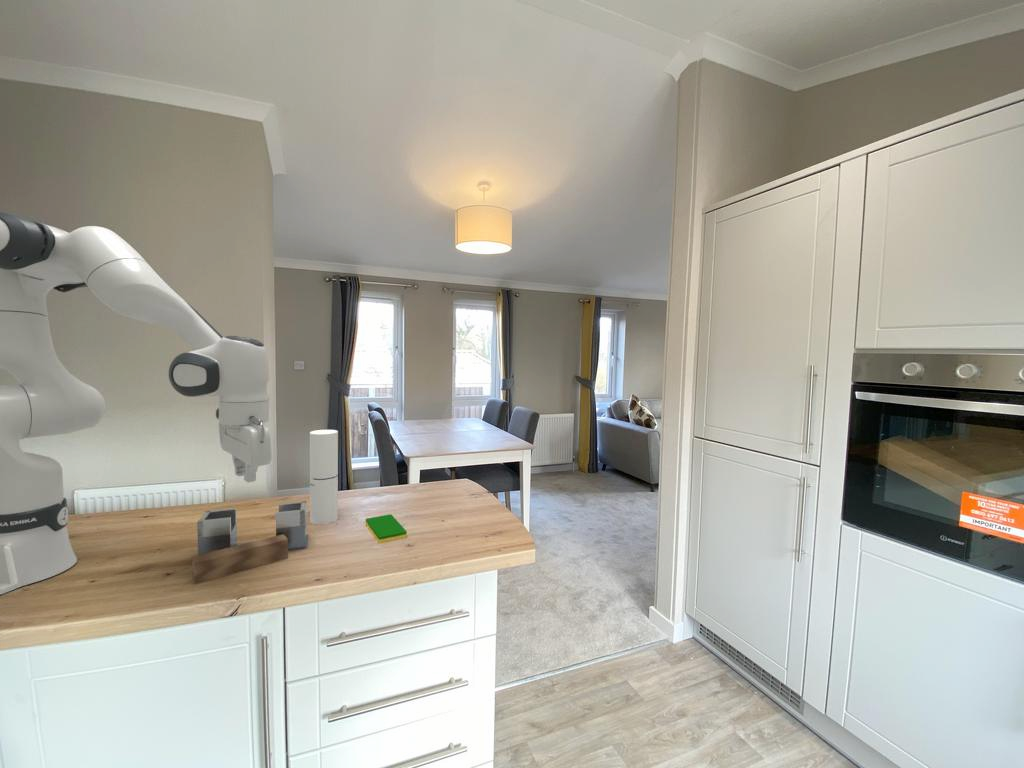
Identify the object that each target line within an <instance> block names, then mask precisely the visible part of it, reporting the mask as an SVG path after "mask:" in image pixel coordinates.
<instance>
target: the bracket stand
mask: <svg viewBox="0 0 1024 768" xmlns="http://www.w3.org/2000/svg"><path fill="white" fill-rule="evenodd" d="M196 523H197V524H196V525H197V526H196V527H197V555H201V554H205V553H209V552H213V551H217V550H221V549H225V548H229V547H233V546H237V545H241V544H246V543H250V542H251V541H245V542H239V543H238V536H237V535H238V530H237V529H238V527H237V526H238V525H237V523H238V522H237V507H233V508H224V509H215V510H214V509H213V510H206V511H204V512H203V514H202V516H201V517H200V518H199V520H198V521H197V522H196ZM282 534H284V535H285V536H286V538H287V539H288V552H290V551H297V550H298V551H299V550H302V549H303V550H305V549H308V545H309V538H310V536H309V535H310V534H308V533H307V500H304V501H295V502H284V503H279V504H278V511H277V512H275V536H278V535H282ZM254 541H255V540H254ZM254 541H252V542H254Z"/></svg>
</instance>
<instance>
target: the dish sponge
mask: <svg viewBox="0 0 1024 768" xmlns="http://www.w3.org/2000/svg"><path fill="white" fill-rule="evenodd" d="M365 527H367V529H368V530H369V531H370V533H371V535H373V537H374V538H375V541H377V543H378V544H382V543H388V542H392V541H397V540H401V539H405V538H407V537H408V535H407V533H408V531H407V530H406V528H404V527H403V525H401V524H400V522H399V521H398V520H397V519H396V518H395V516H393V515H392V514H391V513H389V514H386V515H385V514H384V515H379V516H373V517H368V518H365Z"/></svg>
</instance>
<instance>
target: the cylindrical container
mask: <svg viewBox="0 0 1024 768" xmlns="http://www.w3.org/2000/svg"><path fill="white" fill-rule="evenodd" d="M338 519H339V431H338V430H337V429H319V430H318V429H317V430H312V431H310V432H309V522H310V524H312V525H326V524H331V523H334V522H336V521H337V520H338Z"/></svg>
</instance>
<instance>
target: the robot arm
mask: <svg viewBox="0 0 1024 768" xmlns="http://www.w3.org/2000/svg"><path fill="white" fill-rule="evenodd" d="M87 287H88V288H89V290H90V291H91V292H92V293H93V294H94V295H95V296H96V298H97V299H98V300H99V301H100V302H101V303H103V304H104V306H106V307H108V308H109V309H111V311H113V312H115V313H116V314H118V315H121V316H122V317H126V318H129V319H133V320H138V321H141V322H144V323H149V324H152V325H154V326H158V327H161V328H164V329H167V331H170V332H172V333H174V334H176V335H177V336H178V337H180V338H181V339H182V340H183V341H184V342H185V343H186V344H188V346H189V347H191V348H192V351H187V352H182V353H180V354H178V355H176V356H175V357H174V359H173V360H172V361H171V362H170V364H169V368H168V380H169V382H170V385H171V387H172V388H173V389H174V390H175V391H176V392H177V393H178V394H180V395H182V396H183V397H184V396H185V397H189V398H205V397H215V396H218V399H219V401H218V402H219V403H218V405H219V406H218V407H217V408H216V409H215V418H216V419H217V420H218V431H219V432H218V434H219V443H220V447H221V449H222V451H225V452H226V453H227V454H230V455H231V457H232V458H231V459H232V463H233V467H234V474H235V476H238V477H243V480H244V481H245V482H246V483H253V482H255V481H256V480H257V471H258V468H259V467H261V466H262V467H263V466H266V465H270V464H271V461H272V458H273V457H272V456H273V455H272V442H271V441H272V440H271V432H270V430H269V428H268V427H267V426H265V425H264V423H268V422H270V406H269V405H270V402H269V401H270V399H269V398H270V397H269V395H268V391H267V389H268V388H267V387H268V383H269V379H270V376H269V375H270V373H269V371H270V370H269V369H270V368H269V359H268V356H269V355H268V352H267V349H266V346H265V345H264V343H263V342H261V341H259V340H257V339H254V338H252V337H251V338H250V337H245V336H238V335H226V336H222V334H221V333H220V332H219V331H217V330H216V329H215V328H214V326H212V324H211V323H210V322H209V321H207V320H206V318H204V316H202V314H201V313H199V311H197V310H196V309H195V308H194V307H193V306H192V305H190V303H188V302H187V301H186V300H185V299H183V297H181V296H180V295H179V294H178V293H177V292H176V291H175V290H173V288H171V286H170V285H168V283H166V282H165V281H164V280H163V278H162V277H160V275H159V274H158V273H157V272H156V271H155V270H154V269H153V268H152V267H151V265H150V264H149V263H148V262H147V261H146V259H144V257H143V256H142V255H141V254H140V253H139V252H138V251H137V250H136V249H135V248H134V247H132V245H130V244H129V243H128V242H127V241H126V240H125V239H123V238H122V237H121V236H120V235H118V234H117V233H116V232H115V231H112V230H111V229H109V228H107V227H102V226H96V225H89V226H88V225H86V226H81V227H79V228H76V229H74V230H72V231H71V232H68V231H65V230H63V229H61V228H58V227H56V226H52V225H48V224H45V223H41V222H38V221H37V220H34V219H31V218H29V217H27V216H23V215H20V214H16V213H11V212H5V211H0V370H4V371H6V372H8V373H9V374H11V375H12V376H13V377H14V378H15V380H16V381H17V383H16V384H7V385H6V384H0V595H4V594H6V593H8V592H11V591H13V590H14V591H15V590H16V589H19V588H20V587H24V586H27V585H30V584H33V583H37V582H41V581H43V580H46V579H49V578H52V577H54V576H56V575H59V574H61V573H64V572H65V571H67V570H68V569H70V568H72V567H73V566H74V565H75V564H76V563H77V562H78V557H77V556H76V554H75V552H74V549H73V546H72V545H71V541H70V538H69V537H70V536H69V533H68V527H67V525H68V521H69V520H68V519H69V510H68V503H67V501H68V500H67V498H66V497H65V496H64V476H63V467H62V465H61V464H60V462H58V460H56V459H55V458H52V457H50V456H45V455H41V454H39V453H38V454H37V453H34V452H33V453H32V452H27V451H23V450H22V448H21V446H20V445H21V444H20V440H24V439H29V438H39V437H47V436H48V437H49V436H57V435H65V434H67V435H68V434H71V433H75V432H80V431H82V430H86V429H89V428H93V427H96V426H97V425H98V424H100V422H101V420H102V419H103V417H104V415H105V414H106V413H105V412H106V407H107V406H106V402H105V399H104V396H103V395H102V394H101V392H100V391H99V390H97V388H95V387H93V386H92V385H89V384H87V383H85V382H84V381H81V380H80V379H78V378H77V377H75V375H73V374H72V373H71V372H70V371H68V369H67V368H66V367H65V365H63V363H62V362H61V361H60V359H59V358H58V355H57V353H56V350H55V347H54V343H53V339H52V333H51V328H50V322H49V314H48V306H47V296H48V293H49V292H50V291H51V290H53V289H54V290H56V291H58V292H61V293H66V292H67V293H68V292H70V291H73V290H75V289H79V288H80V289H81V288H87Z"/></svg>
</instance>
